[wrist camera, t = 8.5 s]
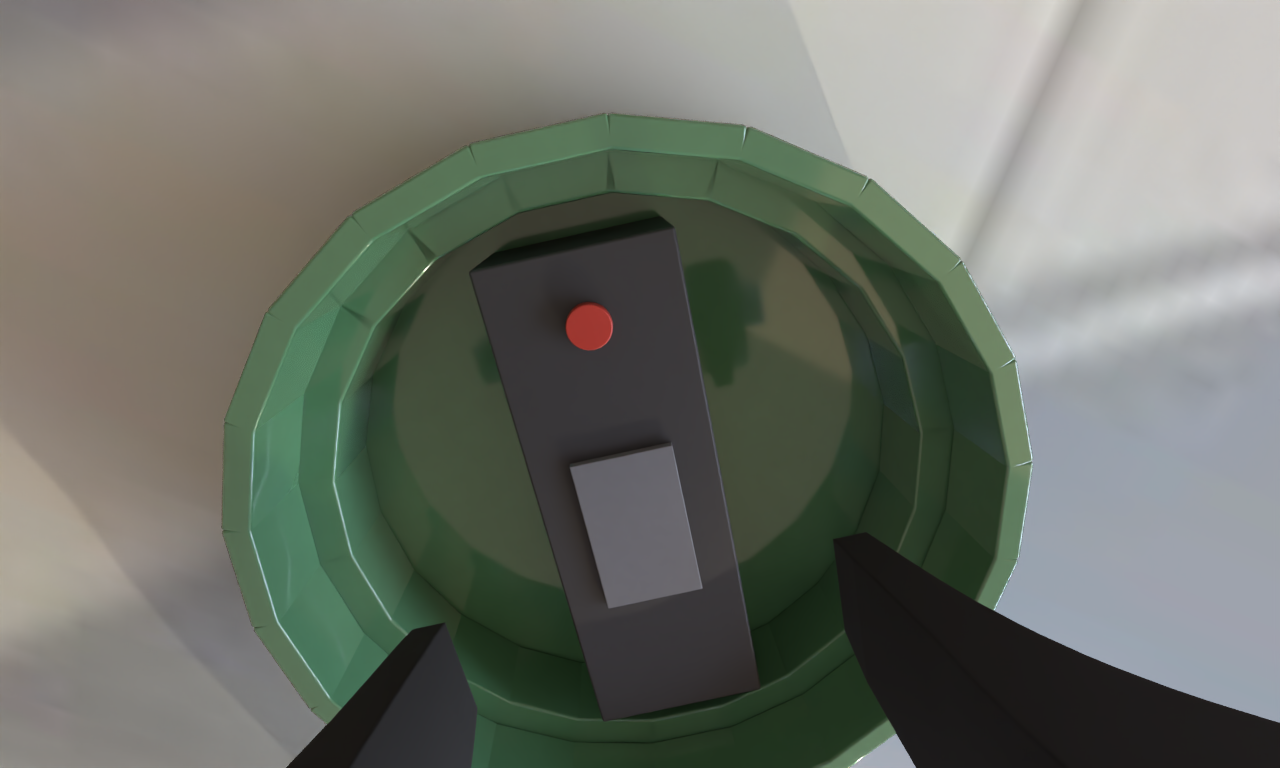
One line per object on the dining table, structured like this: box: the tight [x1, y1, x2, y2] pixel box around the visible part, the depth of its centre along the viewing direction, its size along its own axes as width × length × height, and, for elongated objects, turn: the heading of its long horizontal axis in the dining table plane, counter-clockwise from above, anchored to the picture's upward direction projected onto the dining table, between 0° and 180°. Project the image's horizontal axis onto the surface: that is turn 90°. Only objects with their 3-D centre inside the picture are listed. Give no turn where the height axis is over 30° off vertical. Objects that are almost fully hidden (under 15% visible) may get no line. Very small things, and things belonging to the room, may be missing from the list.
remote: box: [469, 216, 761, 722], centre depth 16 cm, size 12×4×3 cm, turn 12°
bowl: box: [221, 113, 1033, 768], centre depth 16 cm, size 17×17×5 cm
